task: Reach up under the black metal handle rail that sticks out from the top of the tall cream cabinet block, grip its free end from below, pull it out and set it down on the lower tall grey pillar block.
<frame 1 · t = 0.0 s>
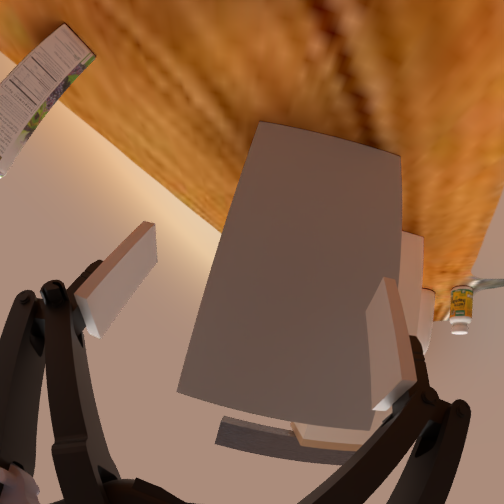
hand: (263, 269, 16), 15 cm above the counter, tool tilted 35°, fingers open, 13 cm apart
tall grey pillar block: (323, 164, 29), on the counter
supplement bottle: (462, 288, 49), on the counter
cabinet block: (374, 241, 42), on the counter
syrup box: (68, 49, 18), on the counter
milk bottle: (420, 291, 58), on the counter
handle rail: (315, 437, 33), point 30 cm above the counter, touching cabinet block
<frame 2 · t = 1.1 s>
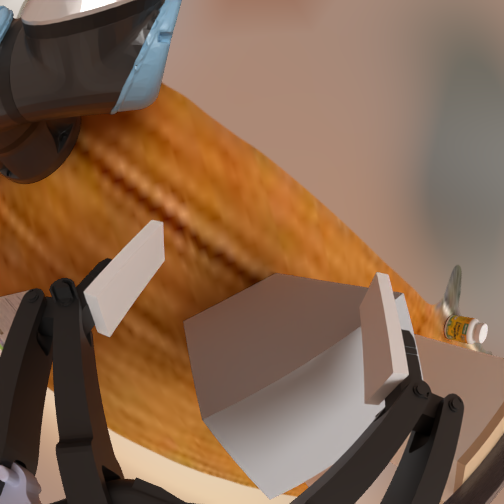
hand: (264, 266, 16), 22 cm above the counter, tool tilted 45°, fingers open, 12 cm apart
tall grey pillar block: (245, 325, 38), on the counter
supplement bottle: (449, 326, 51), on the counter
cabinet block: (346, 365, 43), on the counter
syrup box: (35, 316, 31), on the counter
white cup: (311, 462, 41), on the counter
handle rail: (481, 467, 13), point 30 cm above the counter, touching cabinet block
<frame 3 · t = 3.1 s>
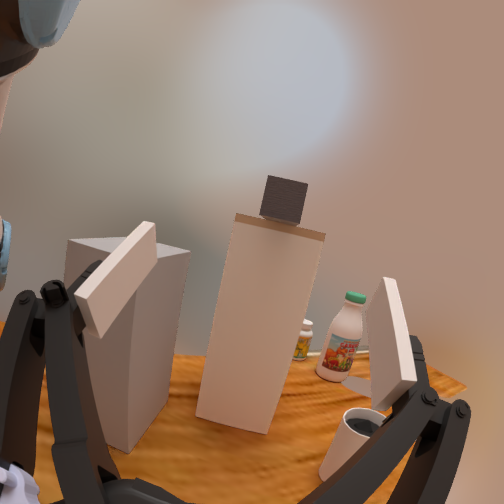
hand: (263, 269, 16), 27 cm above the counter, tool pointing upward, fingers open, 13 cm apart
tall grey pillar block: (122, 412, 33), on the counter
supplement bottle: (294, 357, 69), on the counter
cabinet block: (236, 405, 43), on the counter
milk bottle: (330, 375, 61), on the counter
white cup: (337, 475, 29), on the counter
handle rail: (281, 223, 37), point 30 cm above the counter, touching cabinet block
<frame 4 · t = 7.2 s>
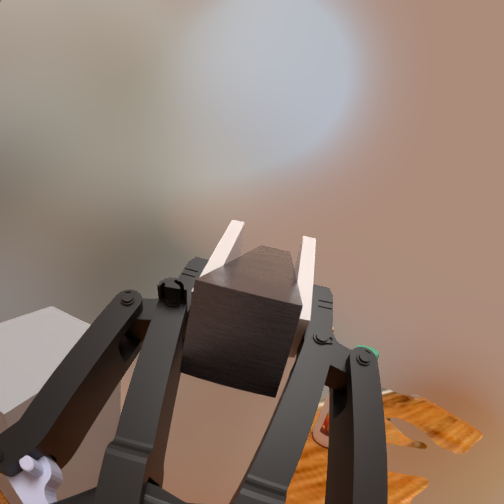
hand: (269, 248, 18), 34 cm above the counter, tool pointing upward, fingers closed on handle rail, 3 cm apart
cabinet block: (210, 495, 28), on the counter
milk bottle: (329, 438, 46), on the counter
handle rail: (259, 301, 22), point 30 cm above the counter, touching cabinet block, gripper
when the fingers open (29 cm above the counter, at t = 12.4 s): handle rail drops 1 cm, resting on tall grey pillar block.
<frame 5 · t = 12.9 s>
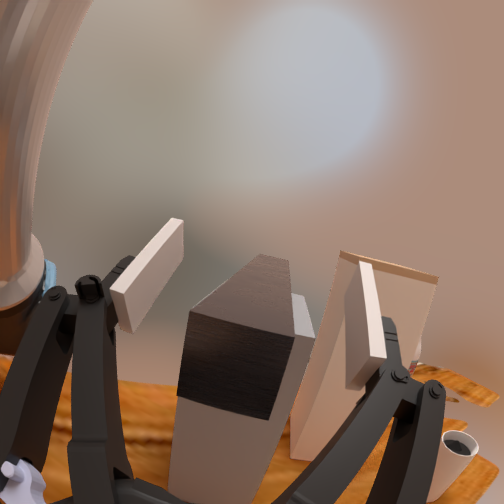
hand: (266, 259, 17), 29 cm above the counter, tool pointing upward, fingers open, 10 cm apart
tall grey pillar block: (217, 469, 29), on the counter
cabinet block: (322, 439, 39), on the counter
milk bottle: (387, 394, 57), on the counter
white cup: (424, 491, 24), on the counter
handle rail: (257, 314, 22), point 24 cm above the counter, touching tall grey pillar block
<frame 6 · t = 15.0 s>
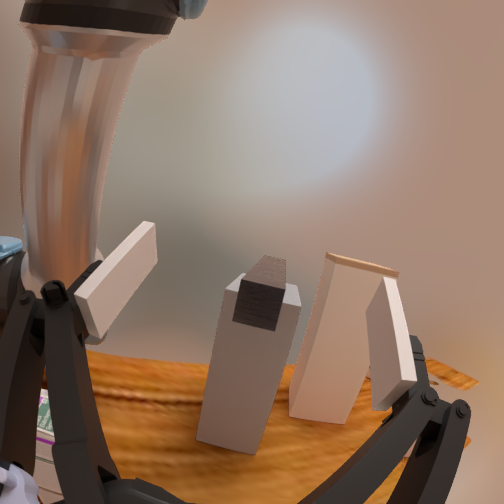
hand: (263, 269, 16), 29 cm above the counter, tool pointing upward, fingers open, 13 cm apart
tall grey pillar block: (233, 422, 42), on the counter
cabinet block: (315, 404, 52), on the counter
syrup box: (70, 498, 17), on the counter
white cup: (400, 448, 37), on the counter
handle rail: (265, 293, 35), point 24 cm above the counter, touching tall grey pillar block
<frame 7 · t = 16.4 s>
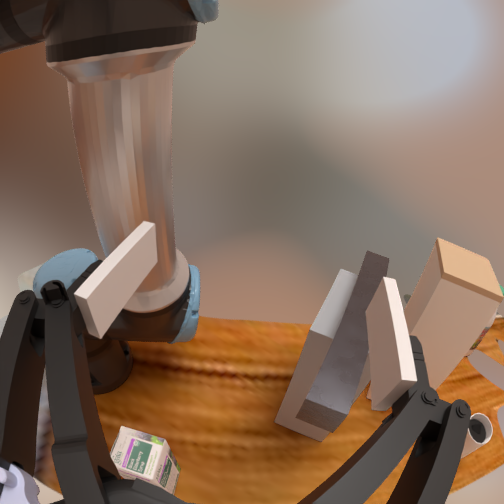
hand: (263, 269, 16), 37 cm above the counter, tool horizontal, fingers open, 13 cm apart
tall grey pillar block: (312, 402, 46), on the counter
cabinet block: (394, 384, 50), on the counter
syrup box: (158, 478, 31), on the counter
milk bottle: (460, 347, 59), on the counter
white cup: (448, 452, 34), on the counter
handle rail: (353, 330, 30), point 24 cm above the counter, touching tall grey pillar block
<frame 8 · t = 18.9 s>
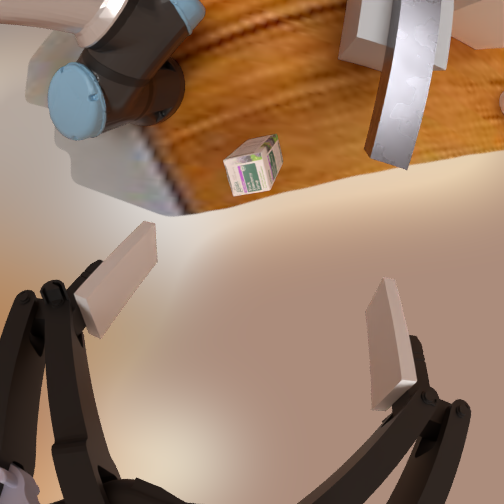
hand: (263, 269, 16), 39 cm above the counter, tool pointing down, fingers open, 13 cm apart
tall grey pillar block: (369, 30, 34), on the counter
cabinet block: (453, 11, 26), on the counter
syrup box: (265, 150, 50), on the counter
handle rail: (407, 30, 17), point 24 cm above the counter, touching tall grey pillar block
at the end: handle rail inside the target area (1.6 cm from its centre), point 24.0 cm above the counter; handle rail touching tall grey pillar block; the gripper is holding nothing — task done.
